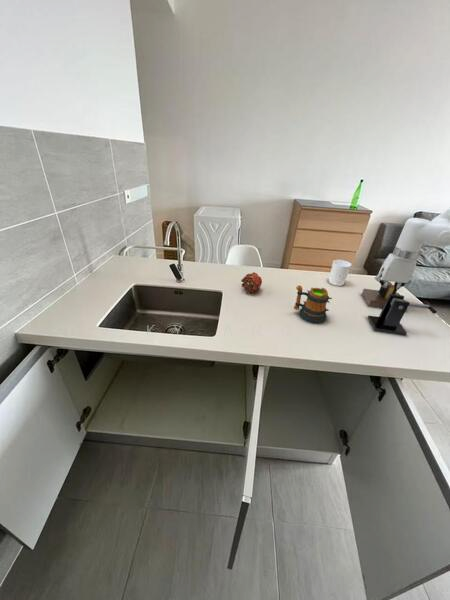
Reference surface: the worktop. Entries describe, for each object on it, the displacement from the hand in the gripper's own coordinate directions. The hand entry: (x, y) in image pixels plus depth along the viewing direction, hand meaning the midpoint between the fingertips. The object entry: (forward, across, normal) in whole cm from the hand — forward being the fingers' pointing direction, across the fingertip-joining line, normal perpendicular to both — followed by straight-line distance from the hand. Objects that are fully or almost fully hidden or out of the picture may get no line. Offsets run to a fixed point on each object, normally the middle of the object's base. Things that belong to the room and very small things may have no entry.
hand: (385, 295), depth 100 cm
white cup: (+4, +16, -14) cm, 22 cm away
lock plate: (+3, 0, 0) cm, 3 cm away
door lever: (-5, 0, +18) cm, 19 cm away
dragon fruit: (+4, +55, +4) cm, 55 cm away
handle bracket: (+3, +5, +18) cm, 19 cm away
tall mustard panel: (0, 0, 0) cm, 0 cm away
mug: (+4, +32, +18) cm, 37 cm away
